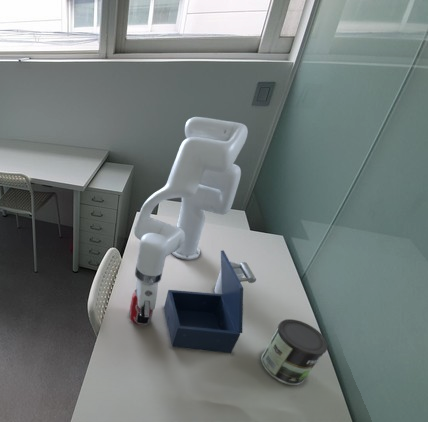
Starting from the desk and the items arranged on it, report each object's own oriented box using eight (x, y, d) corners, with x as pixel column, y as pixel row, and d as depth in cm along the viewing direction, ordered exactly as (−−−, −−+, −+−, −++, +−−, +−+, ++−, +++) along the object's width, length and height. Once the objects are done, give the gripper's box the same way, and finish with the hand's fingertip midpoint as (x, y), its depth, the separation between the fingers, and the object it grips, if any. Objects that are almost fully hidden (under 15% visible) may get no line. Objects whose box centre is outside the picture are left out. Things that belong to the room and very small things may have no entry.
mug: (229, 303, 105) (240, 278, 98) (210, 292, 109) (219, 267, 103) (241, 288, 110) (251, 263, 104) (222, 279, 115) (231, 254, 108)
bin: (171, 347, 91) (177, 328, 87) (163, 308, 104) (168, 289, 99) (231, 353, 89) (240, 334, 84) (215, 312, 102) (222, 294, 97)
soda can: (154, 324, 98) (161, 298, 92) (135, 330, 97) (140, 304, 90) (143, 307, 104) (148, 282, 98) (124, 312, 102) (128, 287, 96)
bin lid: (239, 288, 76) (264, 285, 74) (220, 250, 88) (241, 248, 87) (239, 333, 84) (261, 332, 83) (221, 293, 97) (240, 291, 95)
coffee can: (311, 372, 84) (335, 340, 76) (292, 393, 79) (316, 361, 72) (272, 344, 91) (290, 312, 84) (253, 361, 87) (270, 330, 79)
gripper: (166, 295, 81) (156, 336, 91) (157, 253, 96) (149, 293, 105) (138, 293, 82) (131, 334, 92) (133, 252, 97) (127, 291, 106)
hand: (140, 312), depth 99 cm, fingers closed on soda can, 7 cm apart
